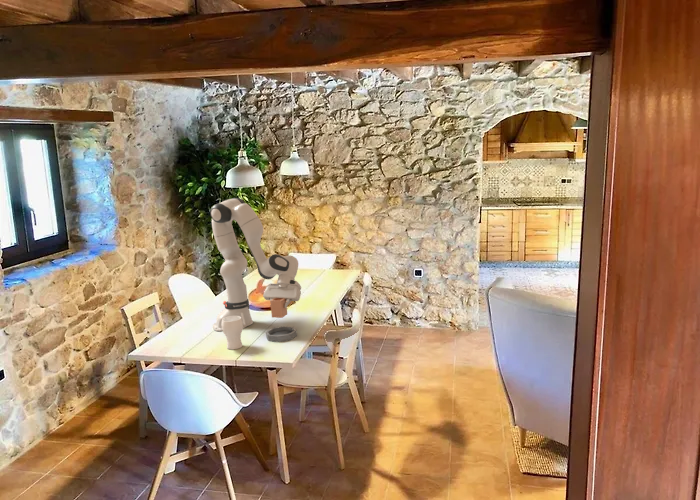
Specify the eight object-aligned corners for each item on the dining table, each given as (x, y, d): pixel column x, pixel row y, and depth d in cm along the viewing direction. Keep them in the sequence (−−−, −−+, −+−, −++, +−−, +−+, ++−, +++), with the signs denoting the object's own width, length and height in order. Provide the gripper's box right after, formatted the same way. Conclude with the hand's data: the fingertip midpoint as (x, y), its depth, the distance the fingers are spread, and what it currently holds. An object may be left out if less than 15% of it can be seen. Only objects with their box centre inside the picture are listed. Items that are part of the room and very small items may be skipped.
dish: (270, 343, 295) (269, 338, 295) (264, 334, 309) (264, 329, 309) (299, 338, 300) (298, 333, 299) (292, 329, 314) (291, 324, 313)
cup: (226, 352, 287) (223, 323, 285) (222, 345, 297) (218, 317, 294) (247, 347, 291) (244, 319, 289) (242, 341, 301) (239, 314, 298)
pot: (282, 317, 299) (280, 301, 297) (271, 317, 301) (270, 300, 299) (287, 314, 304) (285, 297, 302) (277, 313, 306) (275, 297, 305)
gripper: (265, 280, 309) (258, 303, 302) (299, 281, 302) (293, 305, 295) (270, 286, 314) (263, 309, 307) (304, 287, 307) (297, 310, 300)
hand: (278, 307), depth 301 cm, fingers closed on pot, 6 cm apart
